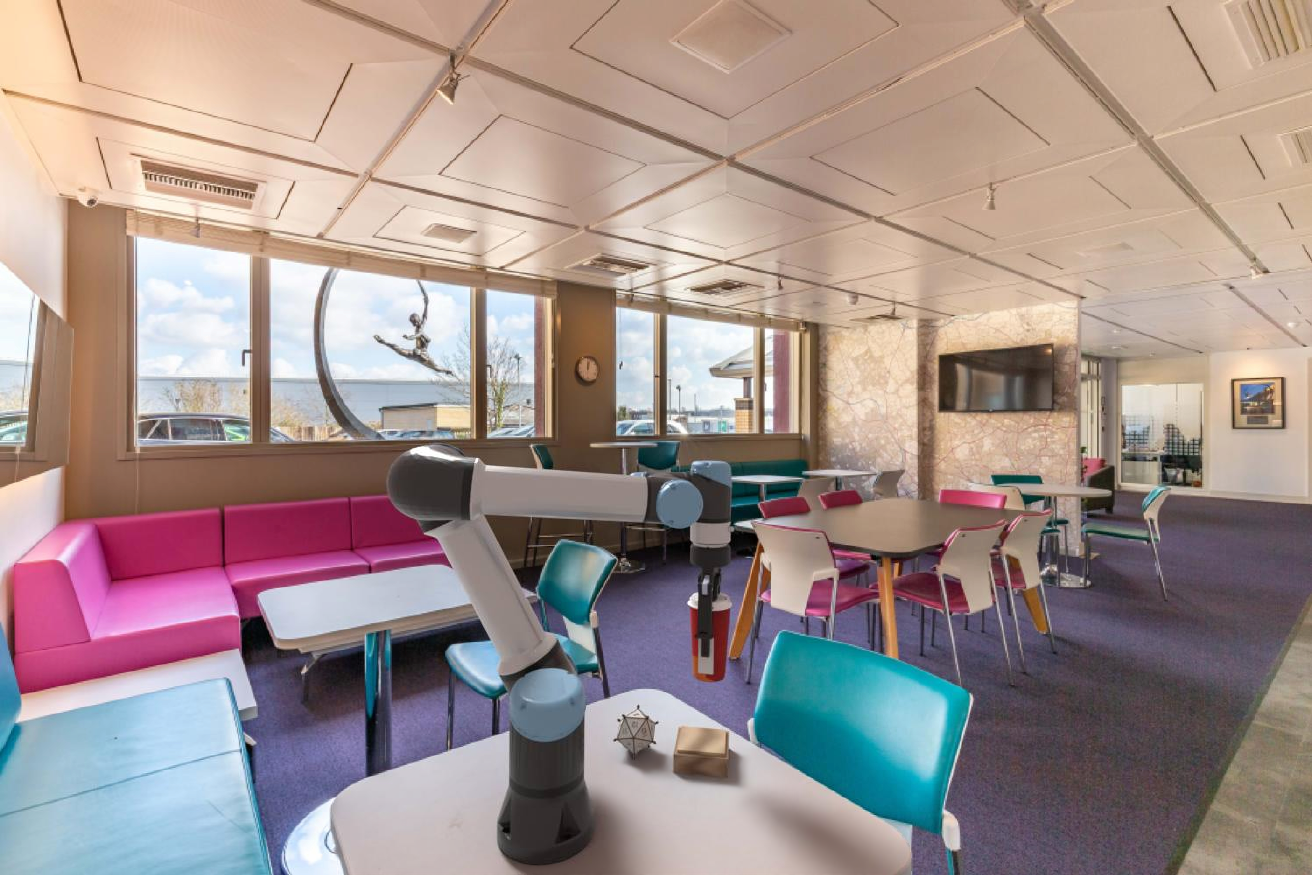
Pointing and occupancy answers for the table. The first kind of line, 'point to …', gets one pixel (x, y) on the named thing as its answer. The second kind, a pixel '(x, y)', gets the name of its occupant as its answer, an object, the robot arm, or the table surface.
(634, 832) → the table surface
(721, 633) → the coffee cup
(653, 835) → the table surface
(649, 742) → the game die
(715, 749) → the plinth
